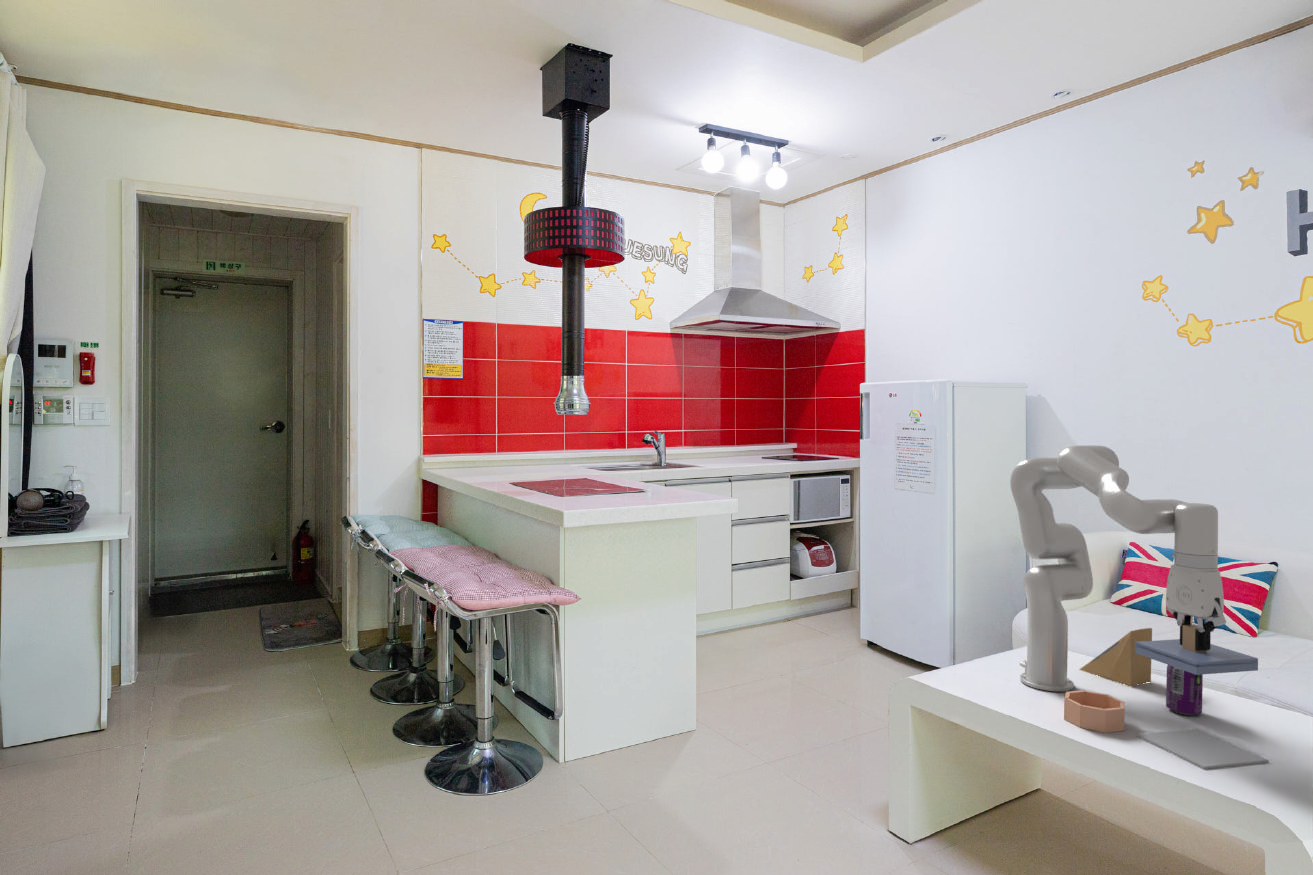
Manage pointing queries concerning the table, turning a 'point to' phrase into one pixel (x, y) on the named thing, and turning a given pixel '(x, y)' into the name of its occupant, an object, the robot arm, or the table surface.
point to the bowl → (1094, 711)
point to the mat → (1202, 748)
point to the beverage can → (1184, 691)
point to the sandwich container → (1123, 660)
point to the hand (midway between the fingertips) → (1194, 646)
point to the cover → (1196, 655)
